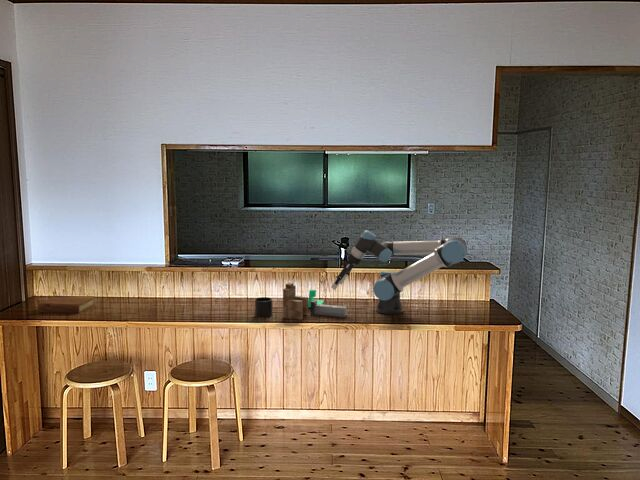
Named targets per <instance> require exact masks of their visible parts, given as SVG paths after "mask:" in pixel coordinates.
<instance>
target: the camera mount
mask: <svg viewBox="0 0 640 480" xmlns="http://www.w3.org/2000/svg"><path fill="white" fill-rule="evenodd" d="M308 292H309V293H308V308H311V301H312V300H315V298H316V295H317V294H316V293H317V291H316V289H309V291H308ZM316 300H317V304H324V302H325V301H324V299H323V300H322V299H316Z"/></svg>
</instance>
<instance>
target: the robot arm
mask: <svg viewBox="0 0 640 480" xmlns="http://www.w3.org/2000/svg"><path fill="white" fill-rule="evenodd" d="M467 251H468V247H467V243H466V242H465V240H463V239H462V238H461V237H448V238H440V239H439V240H413V241H412V240H409V241H408V240H407V241H404V240H403V241H389V240H386V241H382V242H379V241H377V235H376V234H375V233H374V232H372V231H370V230H364V231H363V232H362V234H361V235H360V236H359V238H358V240H357V242H356V243H355V244H354V246H352V249H351V251H350V252H349V253H348V255H347V257H346V259H347V260H348V261H347V262H346V263H345V266H344V267H343V268H342V270H341V271H340V272H339V274H338V275H337V276H336V277H335V280H334V282H333V283H332V285H331V287H330V288H331V289H332V290H334V291H336V289H337V288H338V286H339V285H343V284H344V282H345V280H346V279H347V277H348V276H350V275H351V271H352V270H353V268H354V267H355V265H356V266H357V265H360V263H361V262H362V260H363V258H364V257H365V256H366V254H367V253H370V254H371V255H372V256H373V257H375V258H376V259H378V260H379V261H381V262H383V263H386V262H387V261H388V260H389V259H390V257H391V256H399V255H400V256H402V255H403V256H405V255H406V256H407V255H408V256H409V255H410V256H411V255H412V256H413V255H427V256H425V257H423V258H422V259H419V260H417V261H416V262H413V263H412V264H410V265H409V266H406V267H405V268H403V269H401V270H400V271H399V270H398V271H389V270H388V271H387V270H386V271H385V270H384V271H380V275H379V279H378V280H376V281H375V282H374V285H373V289H372V291H373V294H374V295H375V297H376V298H377V300H378V302H377V305H376V306H375V307H376V308H375V309H376V312H377V313H379V314H385V315H398V314H401V313H403V311H404V307H403V304H402V303H403V302H402V301H401V293H402V292H403V291H404V289H405V287H407V286H409V285H410V284H412V283H414V282H416V281H418V280H419V279H422V278H423V277H425V276H428V275H429V274H431V273H434V271H437V270H439V269H441V268H443V267H445V268H449V267H451V266H452V265H454V264H458V263H461V262H462V261H463V260H464V258H465V256H466V255H467Z"/></svg>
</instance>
